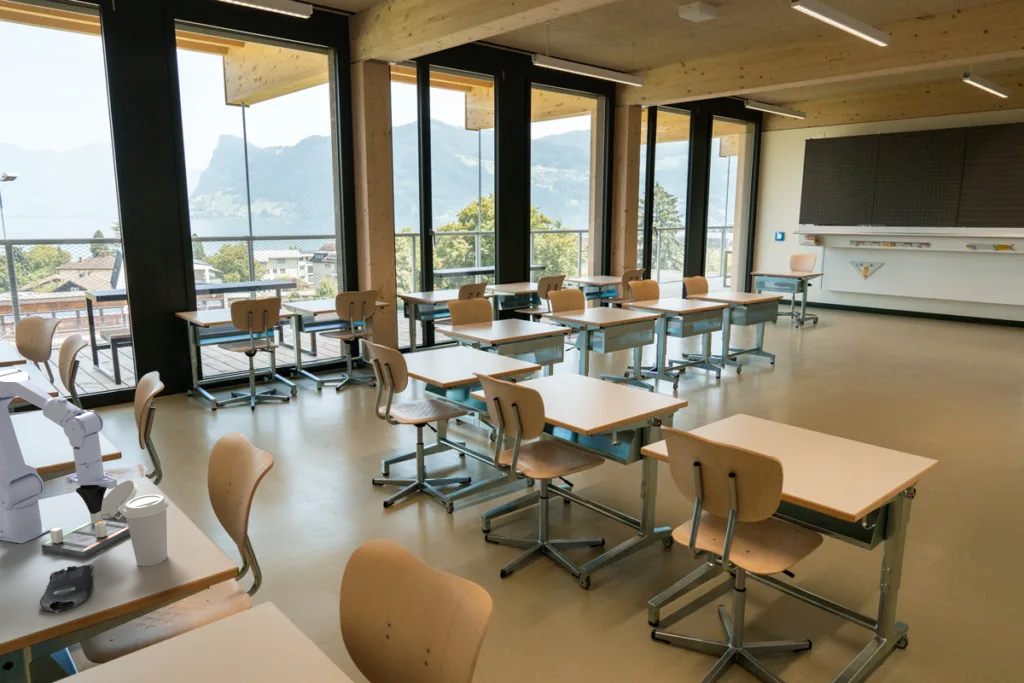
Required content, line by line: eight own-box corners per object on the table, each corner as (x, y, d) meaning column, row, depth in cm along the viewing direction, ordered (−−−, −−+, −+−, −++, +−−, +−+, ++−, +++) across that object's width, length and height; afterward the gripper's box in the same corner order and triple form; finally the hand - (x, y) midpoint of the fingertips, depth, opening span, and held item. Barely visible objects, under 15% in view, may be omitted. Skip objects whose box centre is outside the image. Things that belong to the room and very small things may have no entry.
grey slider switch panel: (42, 551, 167) (41, 544, 166) (96, 525, 181) (95, 518, 180) (85, 559, 162) (83, 551, 162) (136, 532, 176) (135, 524, 176)
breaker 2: (91, 523, 177) (89, 511, 176) (96, 520, 178) (95, 509, 178) (97, 524, 176) (95, 512, 176) (102, 521, 178) (100, 510, 177)
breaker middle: (96, 536, 169) (94, 523, 169) (101, 533, 171) (99, 520, 170) (102, 537, 169) (100, 524, 168) (107, 534, 170) (105, 521, 170)
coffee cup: (126, 573, 155) (118, 512, 153) (132, 554, 164) (125, 496, 162) (172, 564, 159) (165, 505, 156) (175, 547, 168) (169, 490, 165)
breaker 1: (51, 542, 167) (49, 530, 166) (57, 539, 168) (56, 527, 168) (57, 543, 166) (55, 531, 165) (63, 540, 168) (61, 528, 167)
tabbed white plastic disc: (89, 509, 190) (108, 471, 192) (117, 515, 195) (135, 478, 198) (106, 524, 179) (126, 484, 182) (135, 530, 185) (154, 491, 188)
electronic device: (46, 592, 151) (36, 616, 138) (47, 567, 151) (37, 589, 138) (95, 586, 156) (89, 609, 142) (95, 562, 156) (90, 583, 142)
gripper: (124, 457, 168) (131, 508, 171) (81, 452, 173) (88, 502, 175) (99, 467, 162) (107, 520, 164) (55, 462, 166) (62, 513, 168)
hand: (95, 512), depth 169 cm, fingers closed
